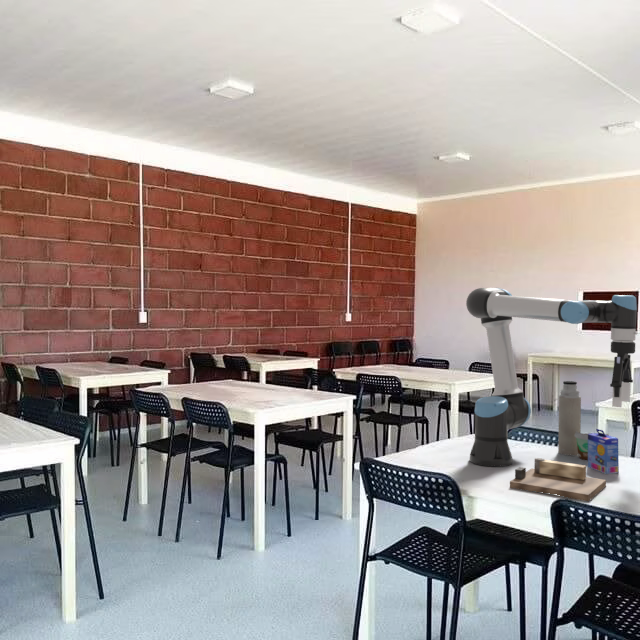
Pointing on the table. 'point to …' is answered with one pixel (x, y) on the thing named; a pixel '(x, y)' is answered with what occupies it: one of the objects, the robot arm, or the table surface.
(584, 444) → the food container
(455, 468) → the table surface
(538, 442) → the table surface
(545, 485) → the board
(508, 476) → the table surface
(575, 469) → the stool leg
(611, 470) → the ink cartridge box
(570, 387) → the thermos bottle
